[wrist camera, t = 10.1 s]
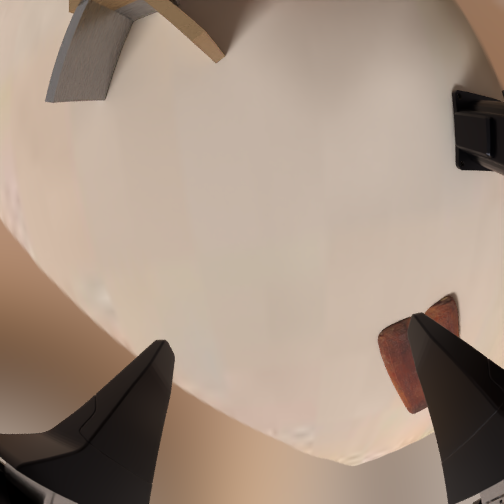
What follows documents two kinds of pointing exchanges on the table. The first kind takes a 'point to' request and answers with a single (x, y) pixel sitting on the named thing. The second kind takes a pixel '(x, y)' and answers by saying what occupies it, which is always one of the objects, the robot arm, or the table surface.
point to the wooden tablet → (400, 354)
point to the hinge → (109, 44)
